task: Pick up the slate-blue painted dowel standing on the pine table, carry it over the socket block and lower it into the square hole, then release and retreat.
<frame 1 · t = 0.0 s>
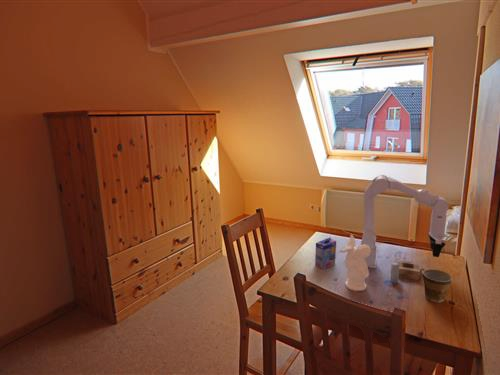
hand: (434, 253, 142), 10 cm above the table, fingers open, 7 cm apart
dowel: (394, 280, 140), on the table
ink cartridge box: (325, 265, 157), on the table
cherub figurine: (351, 286, 137), on the table
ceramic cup: (431, 296, 128), on the table
socket block: (407, 273, 145), on the table
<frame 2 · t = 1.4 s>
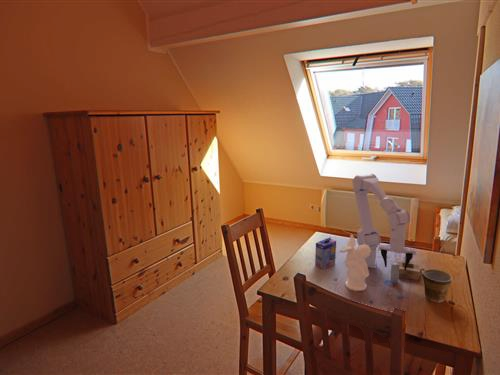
hand: (395, 267, 138), 6 cm above the table, fingers open, 7 cm apart
nothing on the table moved.
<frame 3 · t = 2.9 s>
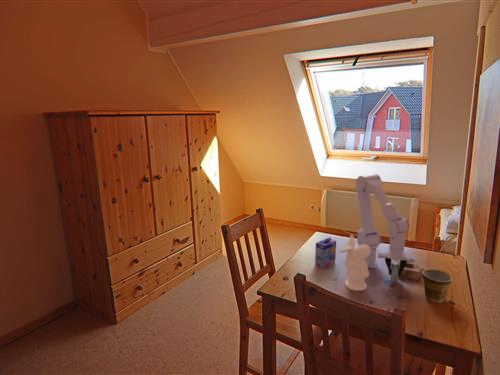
hand: (394, 274, 139), 3 cm above the table, fingers closed on dowel, 3 cm apart
dowel: (394, 280, 140), on the table, touching gripper
everything else where it was.
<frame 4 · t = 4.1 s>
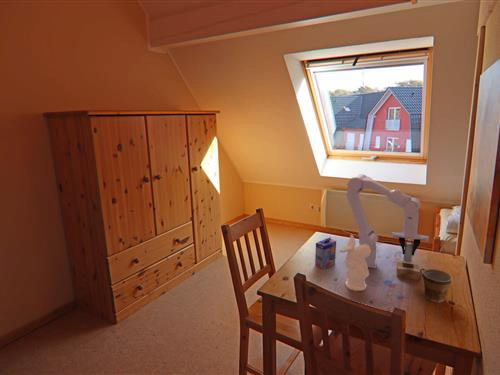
hand: (408, 254, 143), 10 cm above the table, fingers closed on dowel, 3 cm apart
dowel: (407, 260, 143), point 7 cm above the table, touching gripper
everything else where it was.
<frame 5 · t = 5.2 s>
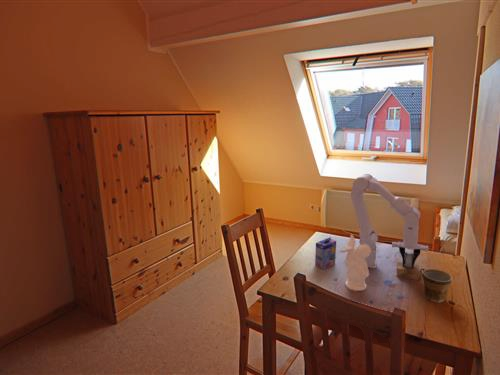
hand: (408, 263, 144), 5 cm above the table, fingers closed on dowel, 3 cm apart
dowel: (407, 269, 145), point 2 cm above the table, touching gripper
everything else where it was.
when the fingers open (5 cm above the table, at t = 5.6 s): dowel drops 2 cm, resting in socket block.
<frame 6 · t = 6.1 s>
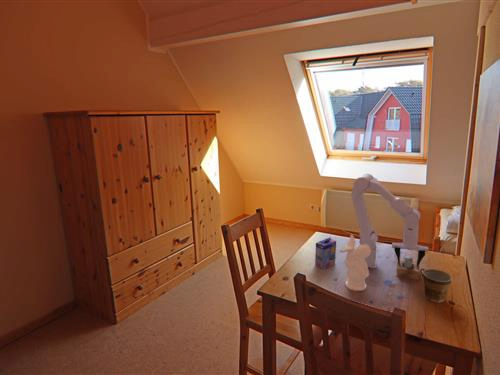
hand: (408, 264, 144), 5 cm above the table, fingers open, 7 cm apart
dowel: (407, 273, 145), resting in socket block
everything else where it was.
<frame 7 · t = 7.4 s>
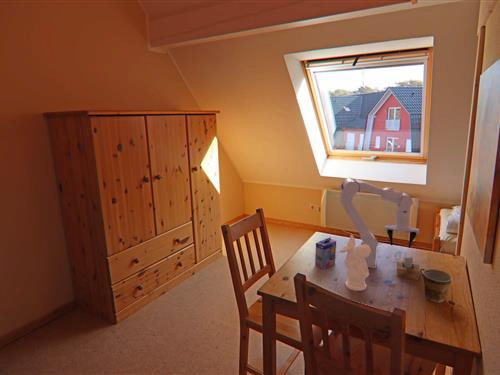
hand: (400, 245, 152), 10 cm above the table, fingers open, 7 cm apart
nothing on the table moved.
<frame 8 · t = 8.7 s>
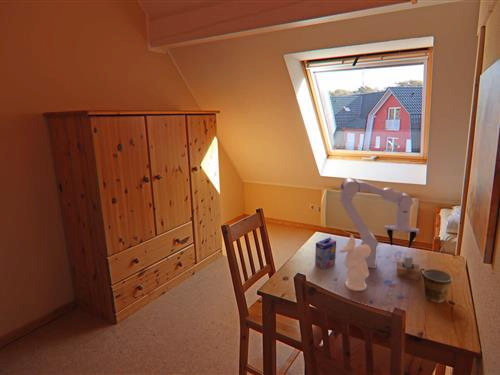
hand: (400, 245, 152), 10 cm above the table, fingers open, 7 cm apart
nothing on the table moved.
at the end: dowel 0.2 cm off-centre on the socket block, point 0.0 cm above the socket block's base; dowel tilted 0°; the gripper is holding nothing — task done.
